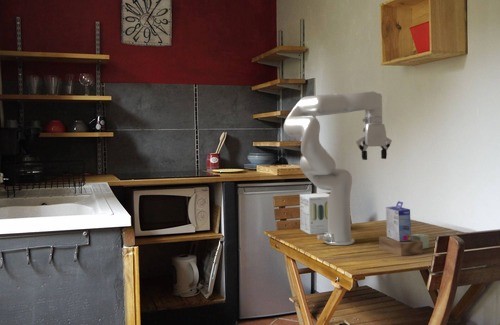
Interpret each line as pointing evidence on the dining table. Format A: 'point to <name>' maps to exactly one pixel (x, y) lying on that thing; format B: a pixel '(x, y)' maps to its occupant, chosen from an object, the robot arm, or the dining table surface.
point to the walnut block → (401, 246)
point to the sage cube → (422, 239)
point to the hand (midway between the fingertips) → (374, 159)
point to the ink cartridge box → (398, 223)
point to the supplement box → (314, 213)
